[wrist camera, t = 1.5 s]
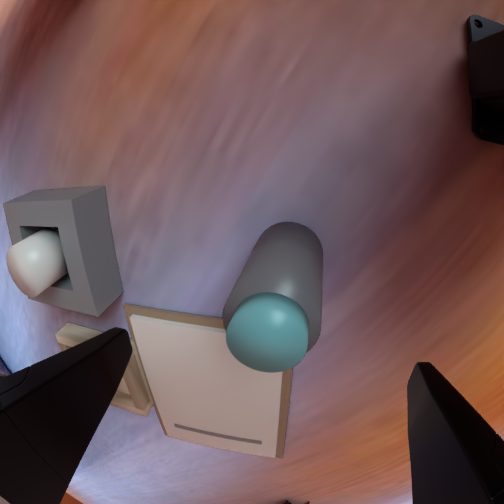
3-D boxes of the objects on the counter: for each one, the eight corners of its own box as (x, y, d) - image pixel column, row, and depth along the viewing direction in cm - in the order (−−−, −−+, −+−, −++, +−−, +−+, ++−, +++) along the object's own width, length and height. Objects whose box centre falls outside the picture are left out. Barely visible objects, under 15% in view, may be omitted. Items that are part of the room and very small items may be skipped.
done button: (66, 227, 16) (30, 247, 13) (77, 277, 17) (46, 301, 14) (34, 226, 16) (1, 244, 14) (45, 271, 18) (16, 292, 15)
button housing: (104, 185, 16) (71, 199, 14) (123, 292, 19) (98, 316, 17) (33, 190, 18) (3, 203, 15) (53, 279, 21) (28, 298, 18)
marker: (325, 224, 15) (326, 303, 9) (320, 286, 16) (314, 384, 10) (255, 220, 16) (209, 292, 9) (256, 281, 17) (217, 372, 11)
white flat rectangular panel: (296, 325, 18) (295, 333, 17) (282, 456, 24) (281, 462, 23) (125, 303, 20) (119, 308, 19) (166, 433, 26) (163, 438, 25)
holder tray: (135, 339, 21) (123, 355, 19) (155, 401, 24) (146, 416, 22) (67, 322, 22) (55, 334, 21) (92, 381, 25) (82, 393, 23)
